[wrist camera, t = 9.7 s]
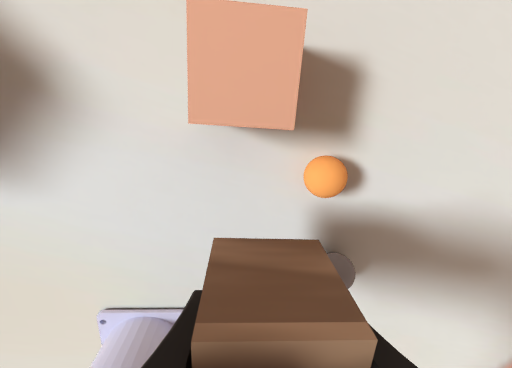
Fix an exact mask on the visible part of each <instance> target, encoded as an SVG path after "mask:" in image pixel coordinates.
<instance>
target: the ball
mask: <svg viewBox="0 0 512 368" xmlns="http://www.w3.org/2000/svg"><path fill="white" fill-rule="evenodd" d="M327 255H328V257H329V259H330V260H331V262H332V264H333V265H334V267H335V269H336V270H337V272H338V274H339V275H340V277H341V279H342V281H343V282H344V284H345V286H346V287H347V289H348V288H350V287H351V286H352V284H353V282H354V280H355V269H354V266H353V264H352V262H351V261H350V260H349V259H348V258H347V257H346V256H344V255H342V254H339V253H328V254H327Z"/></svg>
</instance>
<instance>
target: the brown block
mask: <svg viewBox="0 0 512 368" xmlns="http://www.w3.org/2000/svg"><path fill="white" fill-rule="evenodd" d="M377 341H378V340H377V338H376V336H375V334H374V333H373V331H372V329H371V328H370V326H369V324H368V323H367V321H366V319H365V318H364V316H363V314H362V313H361V311H360V309H359V308H358V306H357V304H356V302H355V301H354V299H353V297H352V296H351V294H350V292H349V291H348V289H347V287H346V286H345V284H344V282H343V281H342V279H341V277H340V275H339V274H338V272H337V270H336V269H335V267H334V265H333V264H332V262H331V260H330V259H329V257H328V255H327V254H326V252H325V250H324V249H323V247H322V245H321V243H320V242H319V240H302V239H247V238H214V240H213V244H212V249H211V253H210V258H209V263H208V267H207V272H206V276H205V281H204V285H203V290H202V294H201V299H200V304H199V308H198V313H197V317H196V322H195V326H194V331H193V336H192V340H191V356H192V368H371V364H372V360H373V356H374V352H375V348H376V345H377Z"/></svg>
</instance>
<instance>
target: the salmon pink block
mask: <svg viewBox="0 0 512 368" xmlns="http://www.w3.org/2000/svg"><path fill="white" fill-rule="evenodd" d="M307 10H308V9H304V8H294V7H285V6H275V5H266V4H256V3H246V2H237V1H227V0H187V63H188V123H190V124H206V125H221V126H237V127H252V128H268V129H283V130H294V126H295V117H296V108H297V99H298V90H299V81H300V72H301V63H302V54H303V45H304V37H305V28H306V19H307Z"/></svg>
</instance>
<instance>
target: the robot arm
mask: <svg viewBox="0 0 512 368" xmlns="http://www.w3.org/2000/svg"><path fill="white" fill-rule="evenodd" d="M201 294H202V290H195V291H194V292H193V293H192V295H191V297H190V299H189V301H188V303H187V304H186V306H185V308H184V309H155V310H101V311H100V312H99V313H98V314H97V322H98V327H99V333H100V338H101V344H102V347H101V348H100V350H99V352H98V354H97V355H96V357H95V359H94V360H93V362H92V364H91V365H90V367H89V368H192V356H191V340H192V336H193V331H194V326H195V322H196V317H197V313H198V308H199V304H200V299H201ZM369 326H370V325H369ZM370 328H371V329H372V331H373V333H374V334H375V336H376V338H377V340H378V341H377V345H376V348H375V352H374V356H373V360H372V364H371V368H418V367H417V366H415V365H414V364H413V363H412V362H410V361H409V360H408V359H407V358H406V357H404V356H403V355H402V354H401V353H400V352H398V351H397V350H396V349H395V348H394V347H393V346H392V345H391V344H390V343H388V342H387V341H386V340H385V339H384V338H383V337H382V336H381V335H380V334H379V333H378V332H377V331H375V330H374V329H373V328H372V327H371V326H370Z"/></svg>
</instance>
